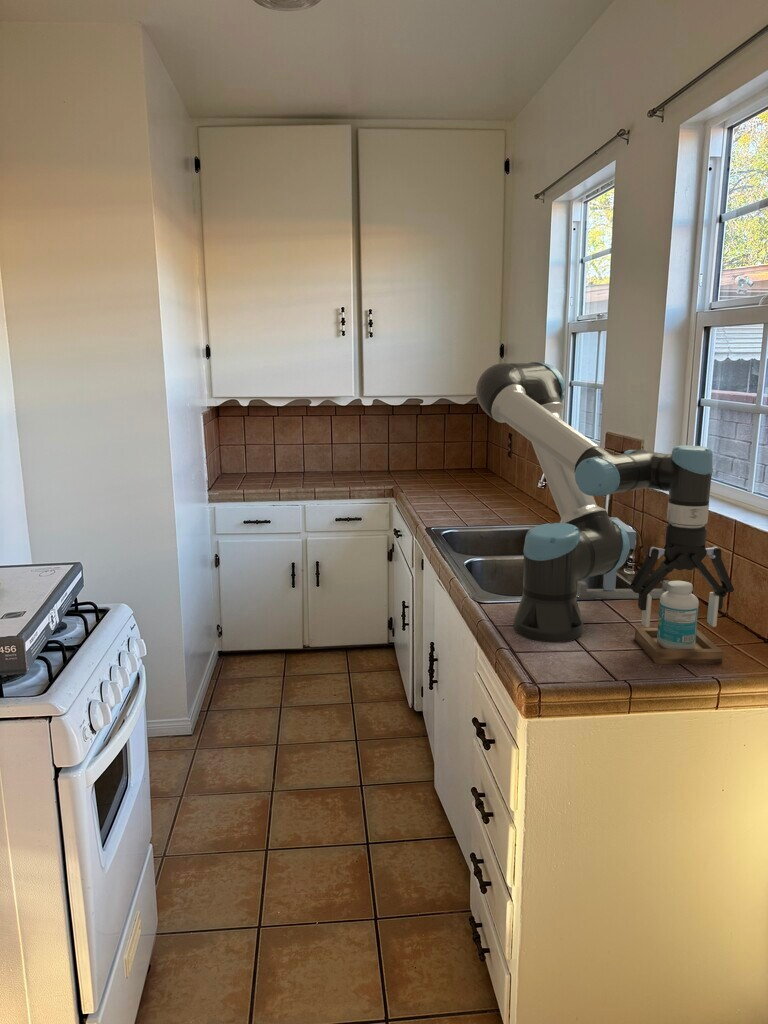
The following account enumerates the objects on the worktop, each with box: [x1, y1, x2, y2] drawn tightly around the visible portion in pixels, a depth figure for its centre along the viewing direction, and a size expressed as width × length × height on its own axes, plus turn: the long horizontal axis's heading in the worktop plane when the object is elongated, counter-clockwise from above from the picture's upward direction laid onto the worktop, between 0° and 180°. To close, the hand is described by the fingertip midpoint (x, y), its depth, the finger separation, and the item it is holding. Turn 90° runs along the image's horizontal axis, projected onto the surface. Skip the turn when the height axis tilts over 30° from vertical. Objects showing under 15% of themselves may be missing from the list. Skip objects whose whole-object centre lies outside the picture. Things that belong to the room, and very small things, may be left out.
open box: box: [634, 627, 724, 665], centre depth 151 cm, size 13×13×2 cm
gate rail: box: [577, 579, 671, 601], centre depth 184 cm, size 23×3×4 cm, turn 90°
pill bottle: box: [657, 580, 700, 649], centre depth 150 cm, size 8×7×14 cm
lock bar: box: [602, 516, 637, 590], centre depth 176 cm, size 2×15×18 cm, turn 0°
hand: (678, 624), depth 150 cm, fingers open, 13 cm apart
